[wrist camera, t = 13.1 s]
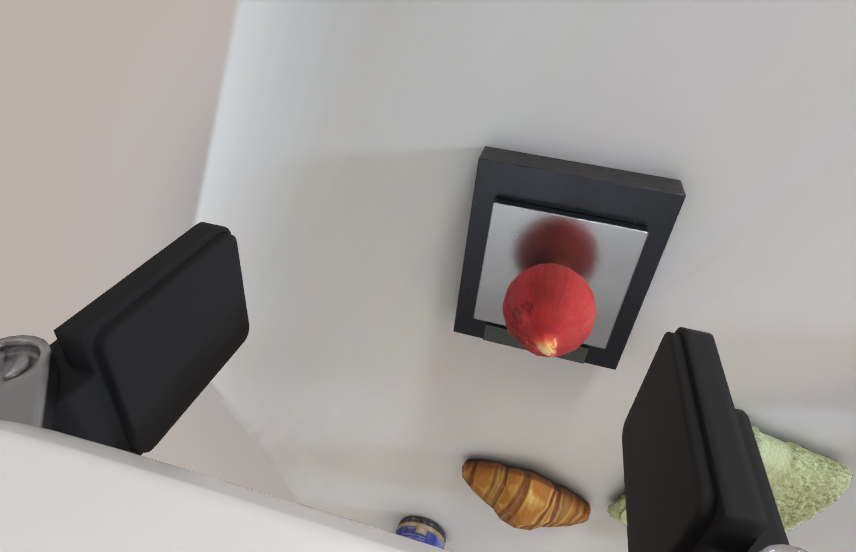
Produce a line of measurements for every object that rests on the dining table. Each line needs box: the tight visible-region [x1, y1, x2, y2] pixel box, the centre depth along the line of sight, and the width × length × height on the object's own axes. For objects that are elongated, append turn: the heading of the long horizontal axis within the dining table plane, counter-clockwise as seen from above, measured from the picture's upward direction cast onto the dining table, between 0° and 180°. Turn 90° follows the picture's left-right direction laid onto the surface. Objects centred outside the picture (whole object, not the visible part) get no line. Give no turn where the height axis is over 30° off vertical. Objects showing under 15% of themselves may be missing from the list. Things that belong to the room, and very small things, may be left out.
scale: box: [454, 146, 686, 370], centre depth 38 cm, size 15×13×3 cm
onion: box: [503, 263, 597, 357], centre depth 33 cm, size 6×6×8 cm
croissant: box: [462, 459, 591, 530], centre depth 52 cm, size 14×7×5 cm, turn 78°
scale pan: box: [474, 198, 649, 349], centre depth 37 cm, size 10×10×1 cm
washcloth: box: [608, 425, 853, 533], centre depth 46 cm, size 13×18×3 cm
